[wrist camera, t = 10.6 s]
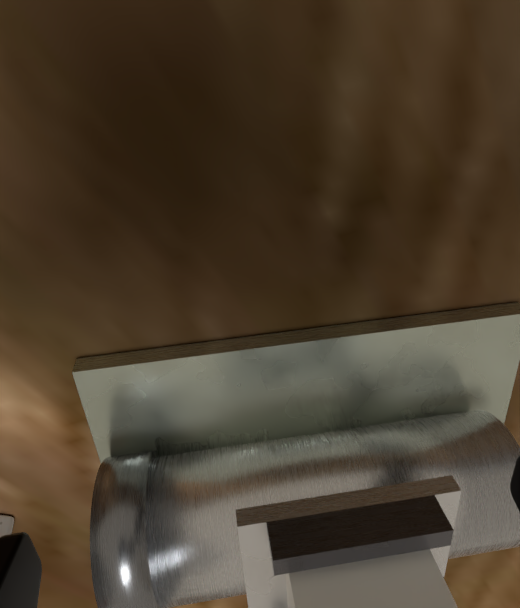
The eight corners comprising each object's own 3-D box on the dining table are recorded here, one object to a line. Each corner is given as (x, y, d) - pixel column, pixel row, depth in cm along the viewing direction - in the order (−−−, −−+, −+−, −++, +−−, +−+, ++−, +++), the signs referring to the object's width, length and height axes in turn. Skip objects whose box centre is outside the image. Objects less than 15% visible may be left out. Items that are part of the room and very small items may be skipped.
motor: (521, 301, 22) (688, 430, 15) (475, 503, 29) (574, 661, 22) (76, 358, 21) (15, 536, 13) (138, 559, 27) (120, 750, 20)
